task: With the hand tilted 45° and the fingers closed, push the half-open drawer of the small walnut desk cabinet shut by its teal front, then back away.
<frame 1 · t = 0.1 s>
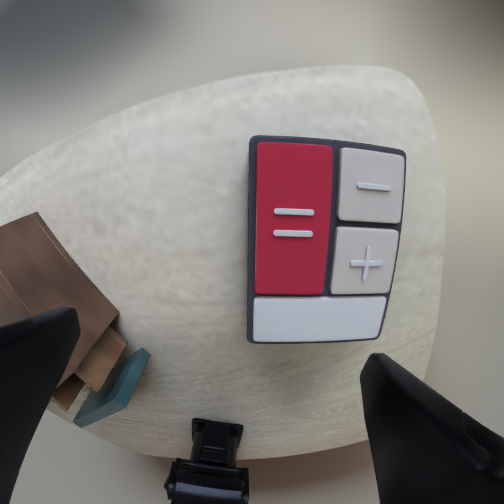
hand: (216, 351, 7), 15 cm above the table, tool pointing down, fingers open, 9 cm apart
drawer: (71, 358, 21), point 5 cm above the table, slide at 4.0 cm
cabinet: (52, 292, 24), on the table
calculator: (318, 238, 21), on the table
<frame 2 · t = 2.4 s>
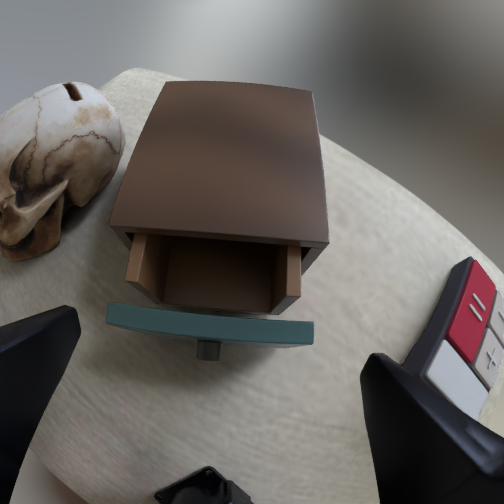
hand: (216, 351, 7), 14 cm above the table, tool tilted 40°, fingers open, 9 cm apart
drawer: (218, 255, 18), point 5 cm above the table, slide at 4.0 cm
cabinet: (227, 207, 25), on the table
calculator: (456, 345, 21), on the table
coin bank: (59, 200, 24), on the table
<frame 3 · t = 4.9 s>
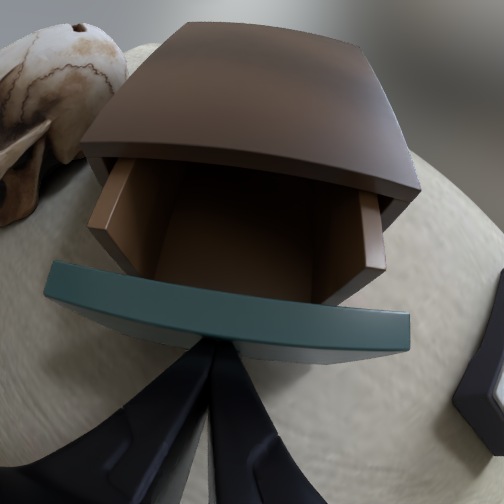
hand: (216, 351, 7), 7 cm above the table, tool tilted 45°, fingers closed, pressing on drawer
drawer: (241, 218, 12), point 5 cm above the table, slide at 4.0 cm, touching gripper
cabinet: (250, 177, 19), on the table
coin bank: (45, 163, 19), on the table
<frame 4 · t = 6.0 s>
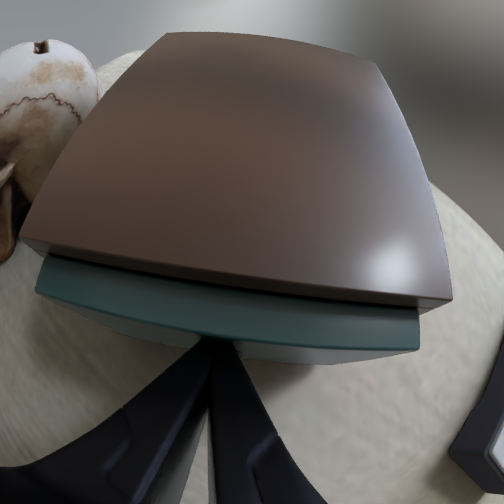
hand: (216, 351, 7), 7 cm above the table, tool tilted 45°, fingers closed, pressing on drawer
drawer: (241, 212, 12), point 5 cm above the table, slide at 0.0 cm, touching cabinet, gripper
cabinet: (243, 221, 17), on the table
coin bank: (22, 196, 16), on the table
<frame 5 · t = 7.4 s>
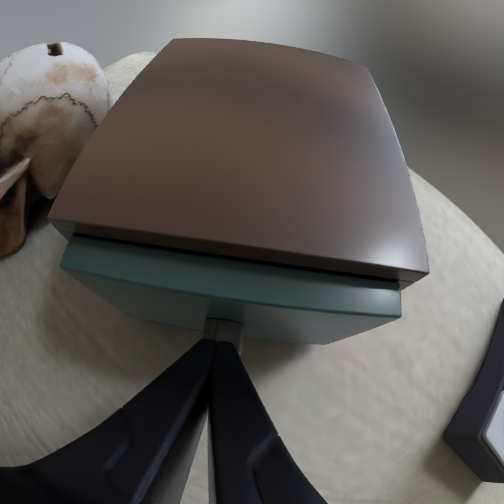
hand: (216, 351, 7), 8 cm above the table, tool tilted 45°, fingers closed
drawer: (243, 203, 13), point 5 cm above the table, slide at 0.0 cm, touching cabinet
cabinet: (244, 213, 18), on the table
calculator: (502, 390, 13), on the table
coin bank: (32, 191, 18), on the table
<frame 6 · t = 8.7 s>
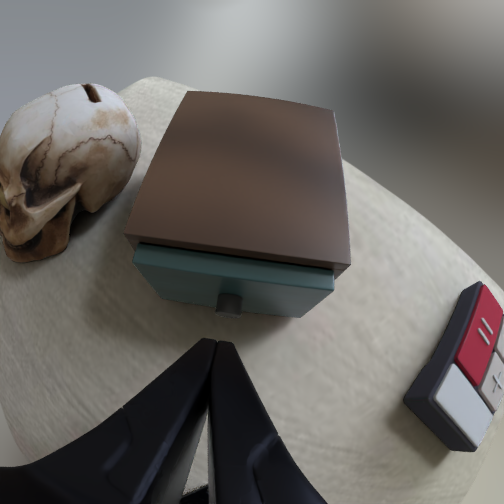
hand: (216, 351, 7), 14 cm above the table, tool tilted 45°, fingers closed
drawer: (241, 220, 19), point 5 cm above the table, slide at 0.0 cm, touching cabinet
cabinet: (242, 224, 25), on the table
calculator: (462, 369, 20), on the table
coin bank: (69, 204, 24), on the table
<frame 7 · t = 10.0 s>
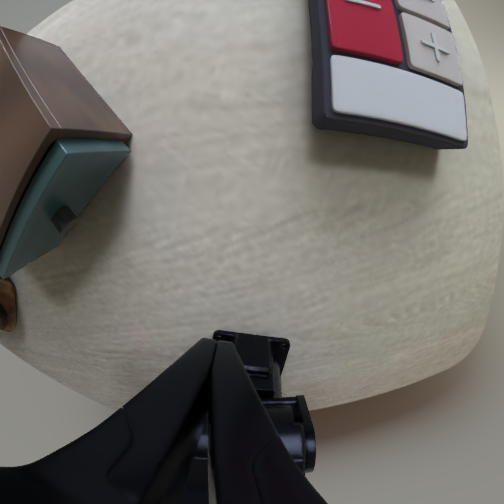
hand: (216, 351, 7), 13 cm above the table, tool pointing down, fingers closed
drawer: (23, 158, 13), point 5 cm above the table, slide at 0.0 cm, touching cabinet
cabinet: (47, 137, 17), on the table
calculator: (378, 48, 14), on the table
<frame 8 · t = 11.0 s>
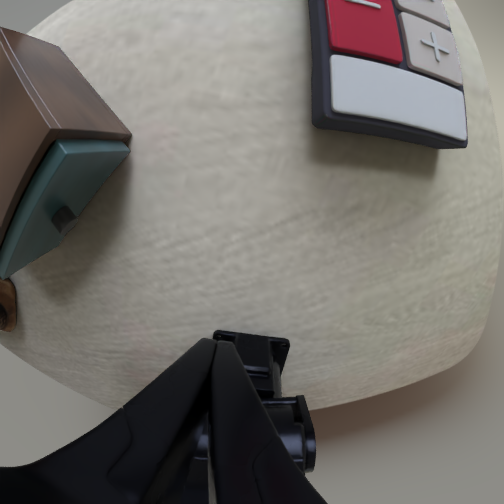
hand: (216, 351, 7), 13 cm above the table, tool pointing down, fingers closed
drawer: (23, 158, 13), point 5 cm above the table, slide at 0.0 cm, touching cabinet
cabinet: (47, 137, 17), on the table
calculator: (378, 47, 14), on the table
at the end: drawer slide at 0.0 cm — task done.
